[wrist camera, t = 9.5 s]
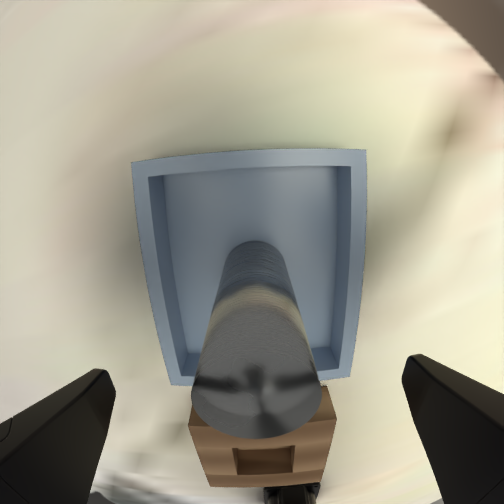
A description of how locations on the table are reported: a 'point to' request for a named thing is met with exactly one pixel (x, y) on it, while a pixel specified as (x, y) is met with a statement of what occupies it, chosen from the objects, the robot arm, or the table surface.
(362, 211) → the tray
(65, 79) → the table surface
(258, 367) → the pin
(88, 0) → the table surface
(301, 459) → the socket block
